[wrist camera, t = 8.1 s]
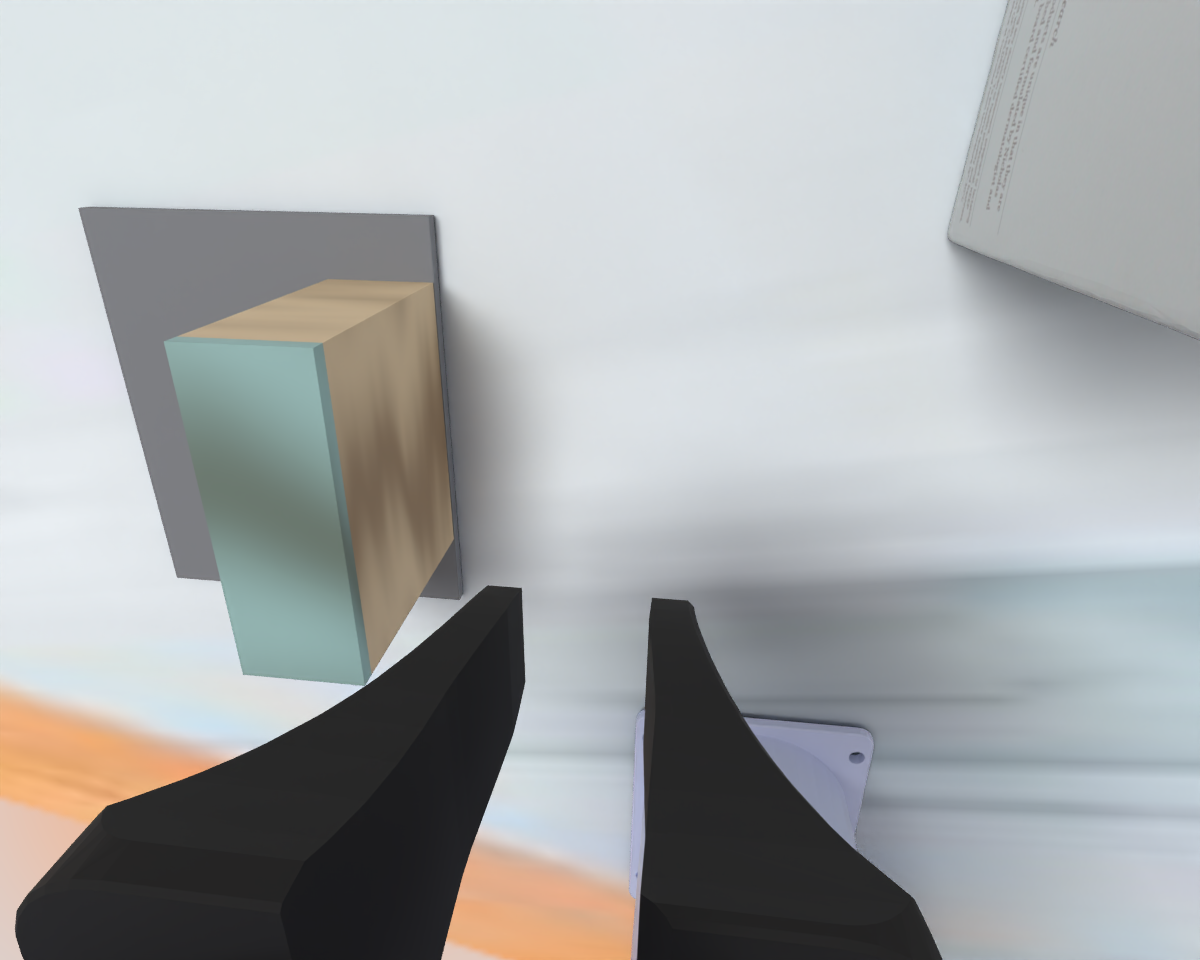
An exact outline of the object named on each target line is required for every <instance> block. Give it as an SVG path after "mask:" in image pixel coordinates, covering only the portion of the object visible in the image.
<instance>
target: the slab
mask: <svg viewBox="0 0 1200 960" xmlns="http://www.w3.org/2000/svg"><path fill="white" fill-rule="evenodd" d="M164 345H165V349H166V353H167V357H168V362H169V366H170V370H171V374H172V378H173V383H174V387H175V391H176V395H177V399H178V403H179V408H180V412H181V416H182V420H183V424H184V429H185V433H186V437H187V441H188V445H189V450H190V454H191V458H192V462H193V466H194V471H195V475H196V479H197V483H198V487H199V492H200V496H201V500H202V504H203V508H204V512H205V517H206V521H207V525H208V529H209V533H210V538H211V542H212V546H213V550H214V554H215V559H216V563H217V567H218V571H219V575H220V580H221V584H222V588H223V592H224V596H225V600H226V605H227V609H228V613H229V617H230V621H231V626H232V630H233V634H234V638H235V642H236V647H237V651H238V655H239V659H240V663H241V668H242V672H243V675H254V676H264V677H275V678H286V679H297V680H308V681H319V682H329V683H340V684H351V685H362V686H365V685H366V683H367V681H368V680H369V678H370V676H371V675H372V673H373V671H374V670H375V668H376V667H377V665H378V663H379V662H380V660H381V658H382V657H383V655H384V653H385V652H386V650H387V648H388V647H389V645H390V643H391V642H392V640H393V639H394V637H395V635H396V634H397V632H398V630H399V629H400V627H401V625H402V624H403V622H404V620H405V619H406V617H407V615H408V614H409V612H410V611H411V609H412V607H413V606H414V604H415V602H416V601H417V599H418V597H419V596H420V594H421V592H422V591H423V589H424V587H425V586H426V584H427V583H428V581H429V579H430V578H431V576H432V574H433V573H434V571H435V569H436V568H437V566H438V564H439V563H440V561H441V560H442V558H443V556H444V555H445V553H446V551H447V550H448V548H449V546H450V545H451V543H452V541H453V540H454V535H453V523H452V510H451V498H450V486H449V473H448V461H447V449H446V436H445V424H444V412H443V399H442V387H441V375H440V363H439V350H438V338H437V326H436V313H435V301H434V289H433V283H428V282H398V281H369V280H339V279H327V280H324V281H322V282H319V283H316V284H314V285H311V286H308V287H306V288H303V289H301V290H298V291H295V292H293V293H290V294H287V295H285V296H282V297H280V298H277V299H274V300H272V301H269V302H266V303H264V304H261V305H259V306H256V307H253V308H251V309H248V310H245V311H243V312H240V313H237V314H235V315H232V316H230V317H227V318H224V319H222V320H219V321H216V322H214V323H211V324H209V325H206V326H203V327H201V328H198V329H195V330H193V331H190V332H187V333H185V334H182V335H180V336H177V337H174V338H172V339H169V340H166V341H164Z"/></svg>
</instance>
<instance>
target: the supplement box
mask: <svg viewBox="0 0 1200 960" xmlns="http://www.w3.org/2000/svg"><path fill="white" fill-rule="evenodd" d="M948 238H949V240H950V241H952V242H954V243H956V244H958V245H960V246H963V247H965V248H968V249H970V250H972V251H975V252H977V253H980V254H982V255H985V256H987V257H989V258H992V259H995V260H997V261H1000V262H1003V263H1006V264H1008V265H1011V266H1013V267H1015V268H1018V269H1020V270H1023V271H1025V272H1028V273H1030V274H1033V275H1035V276H1038V277H1040V278H1043V279H1045V280H1048V281H1050V282H1053V283H1055V284H1058V285H1060V286H1063V287H1066V288H1068V289H1071V290H1073V291H1076V292H1079V293H1081V294H1084V295H1086V296H1089V297H1092V298H1094V299H1097V300H1100V301H1102V302H1104V303H1107V304H1109V305H1112V306H1114V307H1117V308H1120V309H1122V310H1125V311H1127V312H1130V313H1132V314H1135V315H1137V316H1140V317H1143V318H1145V319H1148V320H1150V321H1153V322H1155V323H1158V324H1160V325H1163V326H1165V327H1168V328H1170V329H1173V330H1175V331H1178V332H1180V333H1183V334H1185V335H1188V336H1190V337H1193V338H1195V339H1197V340H1200V0H1008V4H1007V9H1006V13H1005V16H1004V20H1003V23H1002V26H1001V30H1000V33H999V37H998V41H997V45H996V49H995V53H994V57H993V61H992V65H991V69H990V72H989V76H988V80H987V83H986V87H985V90H984V94H983V98H982V102H981V106H980V110H979V114H978V118H977V121H976V125H975V130H974V133H973V137H972V140H971V144H970V147H969V151H968V155H967V159H966V163H965V168H964V172H963V176H962V180H961V183H960V186H959V189H958V193H957V197H956V201H955V206H954V210H953V214H952V218H951V222H950V225H949V230H948Z"/></svg>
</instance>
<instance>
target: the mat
mask: <svg viewBox="0 0 1200 960" xmlns="http://www.w3.org/2000/svg"><path fill="white" fill-rule="evenodd" d="M79 212H80V216H81V220H82V223H83V227H84V231H85V235H86V238H87V242H88V246H89V249H90V253H91V257H92V261H93V264H94V268H95V272H96V276H97V279H98V283H99V287H100V291H101V294H102V298H103V302H104V306H105V309H106V313H107V317H108V321H109V324H110V328H111V332H112V336H113V339H114V343H115V347H116V351H117V354H118V358H119V362H120V365H121V369H122V373H123V377H124V380H125V384H126V388H127V392H128V395H129V399H130V403H131V407H132V410H133V414H134V418H135V422H136V425H137V429H138V433H139V437H140V440H141V444H142V448H143V452H144V455H145V459H146V463H147V467H148V470H149V474H150V478H151V481H152V485H153V489H154V493H155V496H156V500H157V504H158V508H159V511H160V515H161V519H162V523H163V526H164V530H165V534H166V538H167V541H168V545H169V549H170V553H171V556H172V560H173V564H174V568H175V571H176V575H177V578H189V579H201V580H214V581H221V580H220V575H219V571H218V567H217V563H216V559H215V554H214V550H213V546H212V542H211V538H210V533H209V529H208V525H207V521H206V517H205V512H204V508H203V504H202V500H201V496H200V492H199V487H198V483H197V479H196V475H195V471H194V466H193V462H192V458H191V454H190V450H189V445H188V441H187V437H186V433H185V429H184V424H183V420H182V416H181V412H180V408H179V403H178V399H177V395H176V391H175V387H174V383H173V378H172V374H171V370H170V366H169V362H168V357H167V353H166V349H165V345H164V341H166V340H169V339H172V338H174V337H177V336H180V335H182V334H185V333H187V332H190V331H193V330H195V329H198V328H201V327H203V326H206V325H209V324H211V323H214V322H216V321H219V320H222V319H224V318H227V317H230V316H232V315H235V314H237V313H240V312H243V311H245V310H248V309H251V308H253V307H256V306H259V305H261V304H264V303H266V302H269V301H272V300H274V299H277V298H280V297H282V296H285V295H287V294H290V293H293V292H295V291H298V290H301V289H303V288H306V287H308V286H311V285H314V284H316V283H319V282H322V281H324V280H327V279H339V280H369V281H398V282H428V283H433V289H434V301H435V313H436V326H437V338H438V350H439V363H440V375H441V387H442V399H443V412H444V424H445V436H446V449H447V461H448V473H449V486H450V498H451V510H452V523H453V535H454V540H453V541H452V543H451V545H450V546H449V548H448V550H447V551H446V553H445V555H444V556H443V558H442V560H441V561H440V563H439V564H438V566H437V568H436V569H435V571H434V573H433V574H432V576H431V578H430V579H429V581H428V583H427V584H426V586H425V587H424V589H423V591H422V592H421V594H420V596H419V597H430V598H443V599H455V600H460V598H461V596H462V594H463V586H462V573H461V561H460V548H459V535H458V522H457V509H456V497H455V484H454V471H453V458H452V445H451V433H450V420H449V407H448V394H447V382H446V369H445V356H444V343H443V330H442V318H441V305H440V292H439V279H438V266H437V254H436V241H435V228H434V215H407V214H366V213H324V212H283V211H241V210H200V209H158V208H117V207H83V208H79Z"/></svg>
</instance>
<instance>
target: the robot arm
mask: <svg viewBox="0 0 1200 960" xmlns="http://www.w3.org/2000/svg"><path fill="white" fill-rule="evenodd" d="M524 685H525V662H524V637H523V611H522V588H514V587H501V586H486V587H485V588H484V589H483V590H482V591H481V592H479V593H478V594H477V595H476V596H475V597H474V598H472V599H471V600H470V601H469V602H468V603H467V604H466V605H465V606H464V607H462V608H461V609H460V610H459V611H458V612H457V613H456V614H455V615H454V616H452V617H451V618H450V619H449V620H448V621H447V622H446V623H445V624H443V625H442V626H441V627H440V628H439V629H438V630H436V631H435V632H434V633H433V634H432V635H431V636H429V637H428V638H427V639H426V640H425V641H424V642H422V643H421V644H420V645H419V646H418V647H416V648H415V649H414V650H413V651H412V652H410V653H409V654H408V655H407V656H405V657H404V658H403V659H401V660H400V661H399V662H397V663H396V664H395V665H393V666H392V667H391V668H389V669H388V670H387V671H386V672H384V673H383V674H382V675H380V676H379V677H378V678H376V679H375V680H373V681H372V682H371V683H369V684H368V685H366V686H365V687H363V688H362V689H360V690H359V691H357V692H356V693H354V694H353V695H351V696H350V697H348V698H346V699H345V700H343V701H342V702H340V703H338V704H337V705H335V706H334V707H332V708H330V709H329V710H327V711H325V712H324V713H322V714H320V715H319V716H317V717H315V718H313V719H311V720H309V721H307V722H305V723H304V724H302V725H300V726H298V727H296V728H294V729H292V730H290V731H289V732H287V733H285V734H283V735H281V736H279V737H277V738H275V739H273V740H272V741H270V742H268V743H266V744H264V745H262V746H260V747H257V748H255V749H253V750H251V751H249V752H247V753H244V754H242V755H240V756H238V757H236V758H234V759H231V760H229V761H227V762H224V763H222V764H220V765H217V766H215V767H212V768H210V769H208V770H205V771H203V772H201V773H198V774H195V775H193V776H190V777H188V778H185V779H183V780H180V781H177V782H174V783H172V784H169V785H166V786H163V787H160V788H158V789H155V790H152V791H149V792H146V793H144V794H141V795H138V796H135V797H132V798H130V799H127V800H124V801H121V802H118V803H115V804H112V805H108V806H106V807H105V809H104V810H103V811H102V812H101V813H100V814H99V815H98V816H97V817H96V818H95V819H94V820H93V821H92V822H91V824H90V825H89V826H88V827H87V828H86V829H85V830H84V831H83V833H82V834H81V835H80V836H79V837H78V838H77V839H76V840H75V842H74V843H73V844H72V845H71V846H70V847H69V848H68V849H67V850H66V852H65V853H64V854H63V855H62V856H61V857H60V859H59V860H58V861H57V862H56V863H55V864H54V865H53V866H52V867H51V869H50V870H49V871H48V872H47V873H46V874H45V875H44V877H43V878H42V879H41V880H40V881H39V882H38V883H37V885H36V886H35V887H34V888H33V889H32V890H31V891H30V892H29V893H28V895H27V896H26V897H25V899H24V900H23V902H22V904H21V905H20V906H19V908H18V910H17V914H16V924H15V932H16V938H17V941H18V945H19V948H20V951H21V954H22V957H23V959H24V960H441V957H442V954H443V950H444V945H445V941H446V937H447V933H448V929H449V926H450V922H451V918H452V914H453V910H454V906H455V903H456V899H457V895H458V891H459V887H460V883H461V880H462V876H463V873H464V869H465V866H466V863H467V860H468V857H469V854H470V851H471V848H472V845H473V842H474V840H475V837H476V834H477V832H478V829H479V826H480V823H481V821H482V818H483V815H484V813H485V810H486V807H487V805H488V802H489V799H490V796H491V794H492V791H493V788H494V786H495V783H496V780H497V778H498V775H499V772H500V769H501V767H502V764H503V761H504V758H505V756H506V753H507V750H508V747H509V744H510V742H511V739H512V736H513V733H514V729H515V725H516V721H517V716H518V712H519V708H520V703H521V699H522V694H523V690H524ZM873 750H874V741H873V738H872V735H871V734H870V732H868V731H867V730H865V729H862V728H856V727H845V726H834V725H823V724H812V723H801V722H790V721H780V720H769V719H758V718H747V717H743V716H742V714H741V713H740V711H739V709H738V707H737V706H736V704H735V702H734V701H733V699H732V697H731V696H730V694H729V692H728V690H727V688H726V686H725V685H724V683H723V681H722V679H721V677H720V675H719V673H718V671H717V669H716V667H715V665H714V663H713V661H712V658H711V656H710V654H709V652H708V649H707V647H706V645H705V642H704V640H703V637H702V635H701V632H700V629H699V626H698V623H697V619H696V615H695V611H694V607H693V606H692V605H691V603H690V602H689V601H685V600H671V599H658V598H652V602H651V610H650V618H649V635H648V656H647V677H646V698H645V710H642V711H641V712H640V713H639V714H638V715H637V719H636V734H635V758H634V782H633V806H632V830H631V855H630V879H629V892H630V895H631V896H632V897H633V898H635V899H636V901H635V914H634V926H633V938H632V951H631V960H942V957H941V955H940V953H939V950H938V948H937V946H936V944H935V941H934V939H933V937H932V934H931V932H930V930H929V928H928V926H927V924H926V922H925V920H924V918H923V916H922V914H921V912H920V910H919V908H918V906H917V904H916V902H915V900H914V899H913V898H912V897H911V896H910V895H909V894H908V893H906V892H905V891H904V890H903V889H902V888H900V887H899V886H898V885H897V884H896V883H894V882H893V881H892V880H891V879H890V878H888V877H887V876H886V875H885V874H884V873H882V872H881V871H880V870H879V869H878V868H876V867H875V866H874V865H873V864H872V863H870V862H869V861H868V860H867V859H865V858H864V857H863V856H862V855H861V854H859V853H858V851H857V847H856V843H855V838H854V836H855V831H856V827H857V822H858V818H859V813H860V809H861V804H862V800H863V795H864V790H865V786H866V781H867V777H868V772H869V768H870V763H871V759H872V754H873ZM853 752H860V753H859V754H858V755H851V754H852V753H853Z"/></svg>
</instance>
